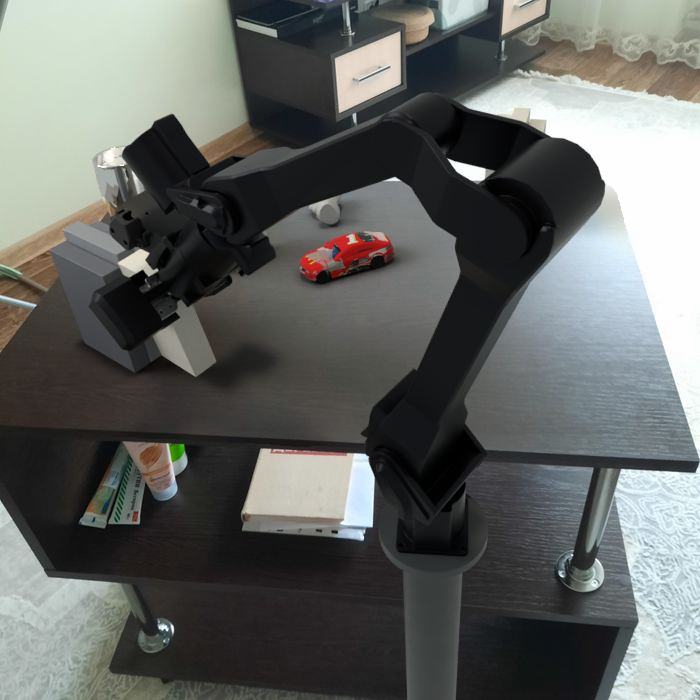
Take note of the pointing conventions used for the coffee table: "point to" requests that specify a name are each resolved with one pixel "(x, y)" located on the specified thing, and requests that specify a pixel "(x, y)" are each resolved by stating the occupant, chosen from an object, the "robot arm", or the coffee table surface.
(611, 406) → the coffee table surface
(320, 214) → the pale two-lobed sculpture
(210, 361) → the white book
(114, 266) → the grey books
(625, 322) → the coffee table surface
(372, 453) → the robot arm
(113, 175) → the silver metal cup
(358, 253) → the race car
